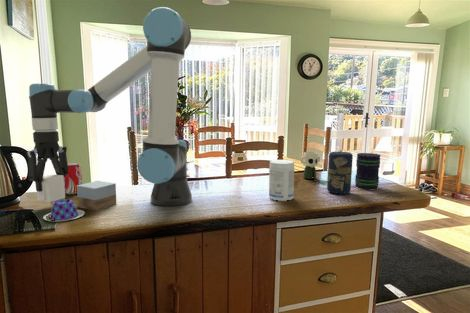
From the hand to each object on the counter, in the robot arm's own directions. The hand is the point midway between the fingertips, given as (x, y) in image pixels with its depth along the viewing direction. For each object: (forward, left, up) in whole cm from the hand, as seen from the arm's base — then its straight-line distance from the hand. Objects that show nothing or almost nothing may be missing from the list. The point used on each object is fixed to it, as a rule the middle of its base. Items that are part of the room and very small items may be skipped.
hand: (51, 197), depth 120 cm
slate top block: (-12, -9, 0) cm, 15 cm away
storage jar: (-97, -83, -4) cm, 127 cm away
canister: (-87, -68, -4) cm, 110 cm away
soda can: (+10, -18, -4) cm, 21 cm away
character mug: (-70, -90, -4) cm, 114 cm away
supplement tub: (-68, -48, -4) cm, 83 cm away
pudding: (-12, +5, -4) cm, 13 cm away
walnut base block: (-12, -9, -4) cm, 15 cm away
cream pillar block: (0, 0, 0) cm, 0 cm away
